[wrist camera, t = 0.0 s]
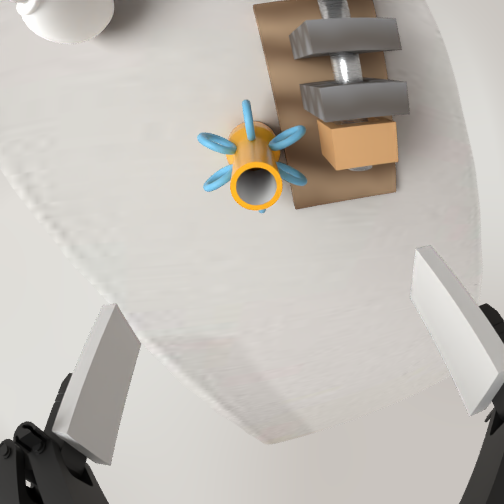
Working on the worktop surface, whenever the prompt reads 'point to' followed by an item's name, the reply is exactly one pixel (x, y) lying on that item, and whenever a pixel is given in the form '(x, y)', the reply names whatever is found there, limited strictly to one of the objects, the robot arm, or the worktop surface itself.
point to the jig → (329, 89)
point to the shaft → (343, 56)
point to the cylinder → (253, 162)
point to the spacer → (359, 143)
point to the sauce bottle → (66, 18)
